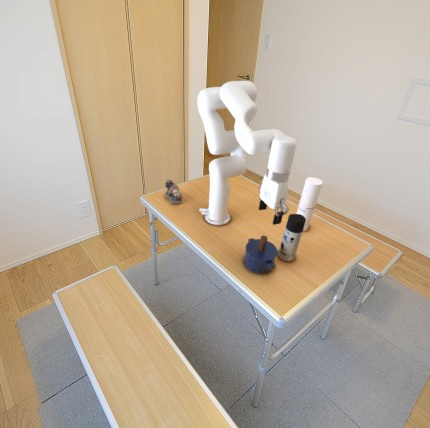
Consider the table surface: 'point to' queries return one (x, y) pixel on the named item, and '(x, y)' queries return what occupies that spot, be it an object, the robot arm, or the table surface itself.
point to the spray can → (291, 236)
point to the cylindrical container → (309, 199)
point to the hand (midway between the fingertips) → (269, 216)
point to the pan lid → (261, 249)
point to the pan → (258, 264)
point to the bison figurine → (173, 192)
